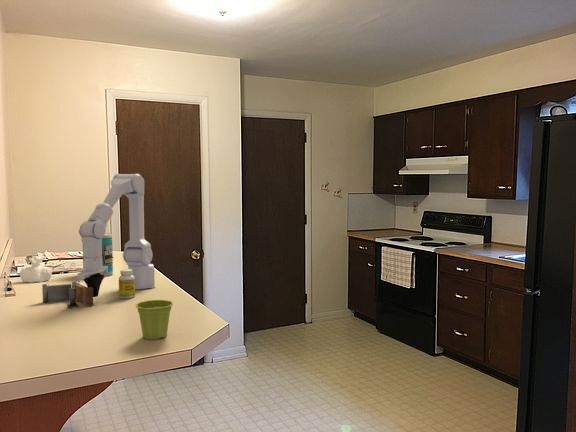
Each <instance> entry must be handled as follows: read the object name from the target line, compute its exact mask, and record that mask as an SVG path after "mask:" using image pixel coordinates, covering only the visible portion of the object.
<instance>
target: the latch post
mask: <svg viewBox="0 0 576 432" xmlns="http://www.w3.org/2000/svg"><path fill="white" fill-rule="evenodd" d="M68 302H69V303H68V304H67V305H66V308H67V310H68V309H76V308H79V307H80V306H79V305H80V304H79V303H77V300H76V288H70V289H69V300H68Z"/></svg>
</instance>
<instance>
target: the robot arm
mask: <svg viewBox="0 0 576 432" xmlns="http://www.w3.org/2000/svg"><path fill="white" fill-rule="evenodd" d="M110 185H111V187H110V190H109V191H108V193H107V195H106V197H105V199H104V200H103V202H102V203H98V204H97V205H95V208H94V210H93V211H92V213H91V214H90V216H89V217H88V219H87V220H85V221H83V222H82V223H81V225H79V229H78V234H79V236H80V237H81V242H82V248H83V247H84V269H83V268H82V269H81V270H80V272H78V273H77V280H83V281H84V283H85V286H86V287H92V288H93V298H97V297H98V296H99V292H100V288H101V285H102V282H103V280H104V278H105V277H104V275H100V273H103V272H108V266H102V237H103V236H104V235H105V233H107V232H106V230H107V226H108V225H107V224H108V222H109V221H110V219H111V217H112V216H113V215H114V209H113V207H114V206H115V205H116V204H117V202H118V201H119V200H120V199H121V197H122V196H123V195H124V196H126V198H127V199H128V210H129V212H128V215H129V217H128V218H129V240H128V241H127V242H126V243H125V244H124V248H123V249H124V250H123V252H122V253H123V254H122V258H123V261H124V262H125V263H126V265H127V266H128V267H127V269H131V270H132V275H133V276H134V278H135V290H142V289H151V288H156V285H155V283H156V282H155V266H154V264H153V263H151V262H152V261H153V255H154V254H153V250H152V245H151V243H150V242H149V241H147V240H146V238H145V209H144V208H145V204H144V203H145V201H144V196H145V179H144V178H143V176H142V175H141V174H140V173H130V174H129V173H127V174H126V173H122V174H121V173H116V174H114V175H113V177H112V179H111V181H110Z"/></svg>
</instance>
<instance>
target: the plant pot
mask: <svg viewBox="0 0 576 432" xmlns="http://www.w3.org/2000/svg"><path fill="white" fill-rule="evenodd" d="M173 305H174V301H171V300H167V299H166V300H165V299H150V300H145V301H140V302H138V303H136V304H135V308H136V310H137V313H138V315H139V320H140V328H141V332H142V333H141V334H142V338H143V339H144V338H145V339H147V340H159V339H160V338H166V337H167V335H168V330H169V322H170V321H169V320H170V312H171V311H172V306H173Z"/></svg>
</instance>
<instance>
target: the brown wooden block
mask: <svg viewBox="0 0 576 432" xmlns="http://www.w3.org/2000/svg"><path fill="white" fill-rule="evenodd" d="M75 288H76V301H78V302H80V303H82V304H84V305H85V306H87V307H92V306H93V307H94V297H93V288H92V287H87V286H86V285H83V284H81V283H79V284H76V285H75Z"/></svg>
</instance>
